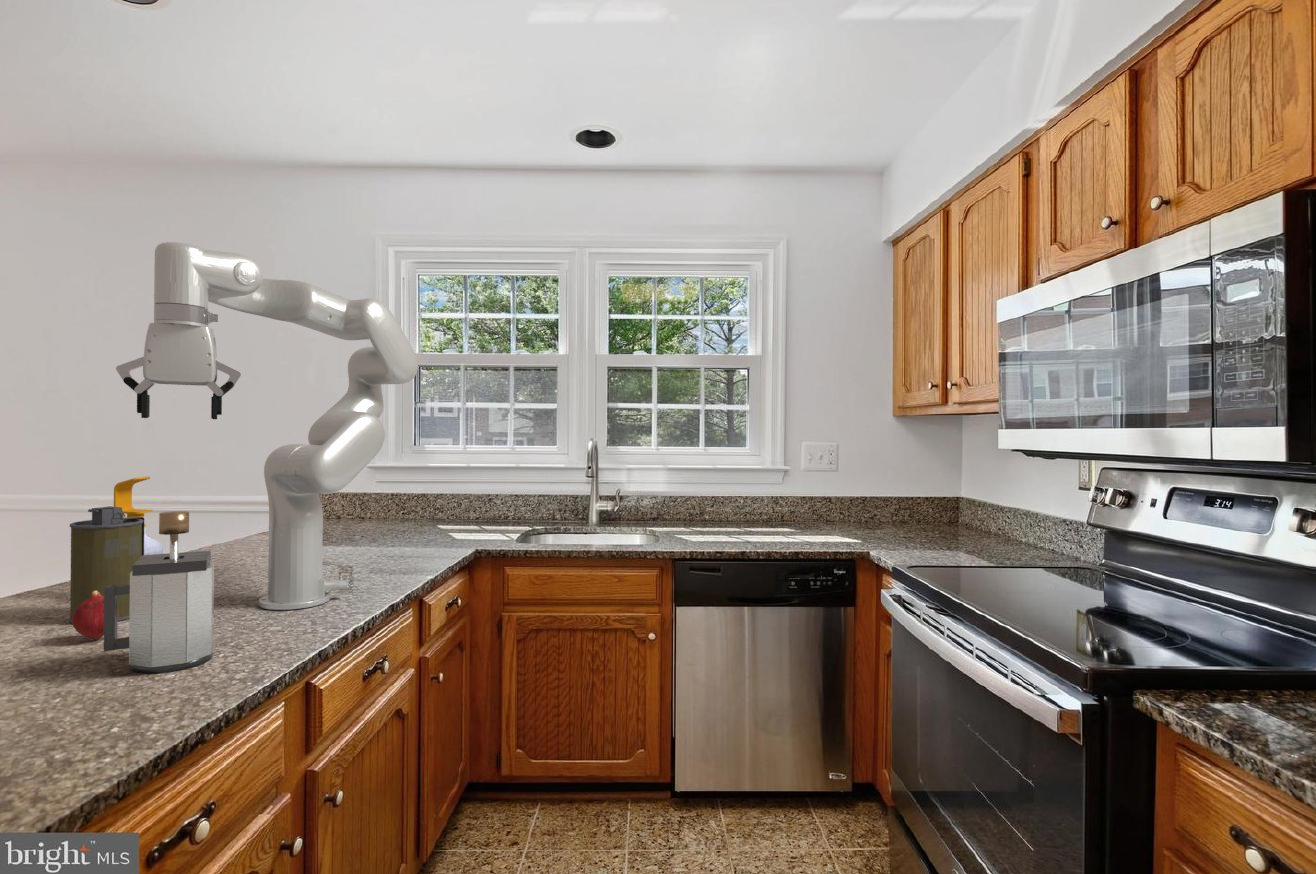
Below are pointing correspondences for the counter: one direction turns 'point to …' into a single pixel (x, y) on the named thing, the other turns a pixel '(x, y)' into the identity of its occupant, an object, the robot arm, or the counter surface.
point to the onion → (90, 617)
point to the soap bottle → (135, 511)
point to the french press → (165, 612)
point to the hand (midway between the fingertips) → (180, 418)
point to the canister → (104, 555)
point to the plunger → (173, 528)
